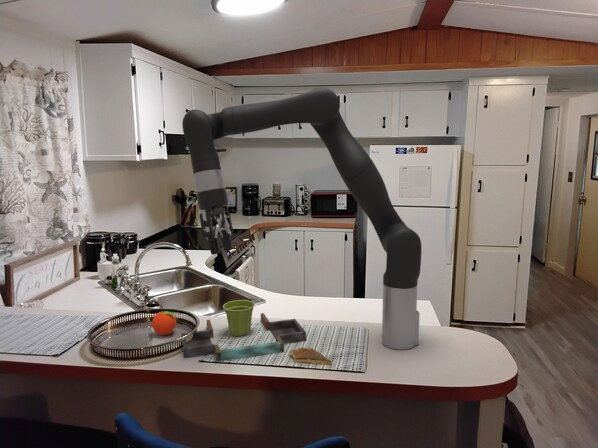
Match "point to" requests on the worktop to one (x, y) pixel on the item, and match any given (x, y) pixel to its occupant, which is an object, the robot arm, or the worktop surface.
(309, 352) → the shard
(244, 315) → the plant pot
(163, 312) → the clementine
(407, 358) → the worktop surface
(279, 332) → the two-trap channel
